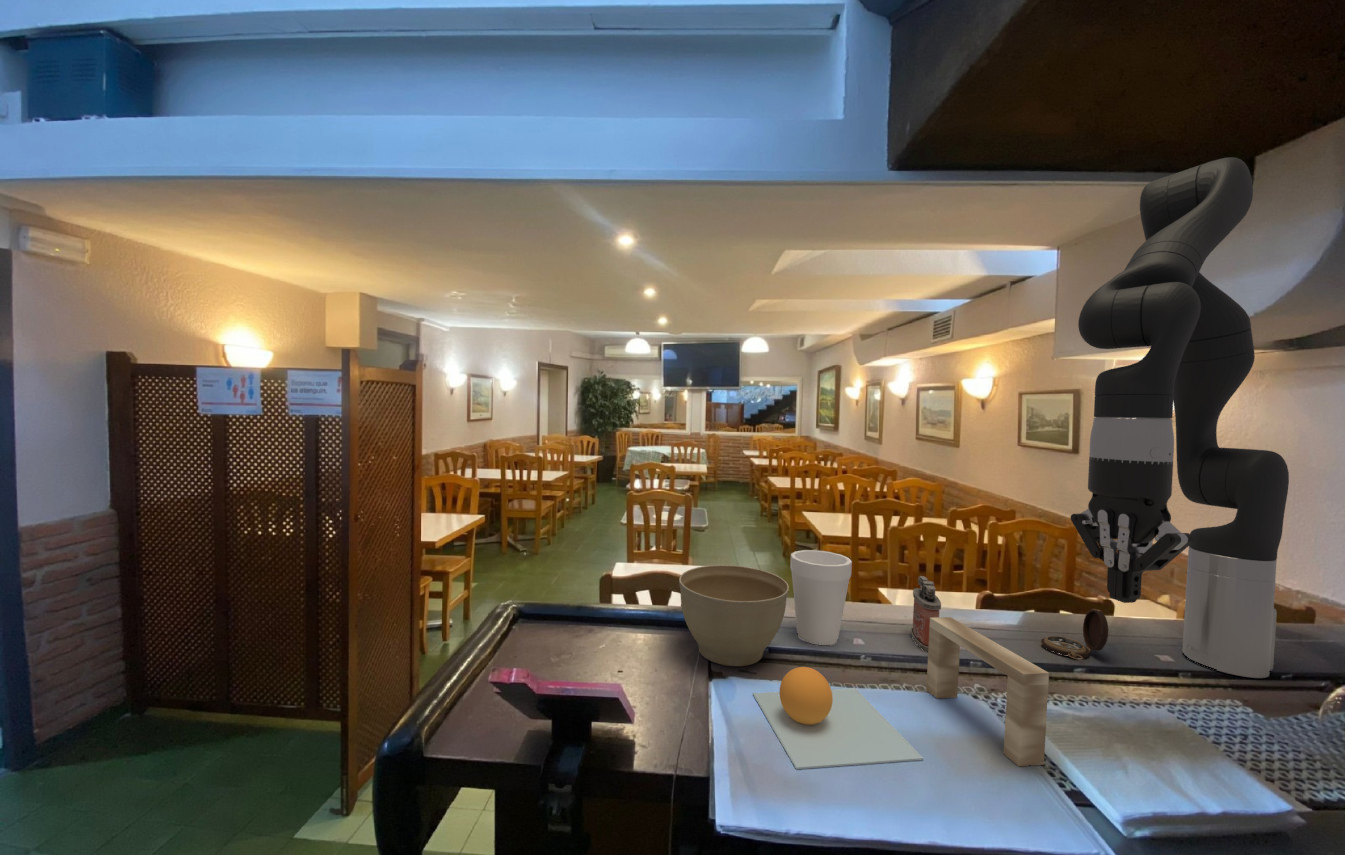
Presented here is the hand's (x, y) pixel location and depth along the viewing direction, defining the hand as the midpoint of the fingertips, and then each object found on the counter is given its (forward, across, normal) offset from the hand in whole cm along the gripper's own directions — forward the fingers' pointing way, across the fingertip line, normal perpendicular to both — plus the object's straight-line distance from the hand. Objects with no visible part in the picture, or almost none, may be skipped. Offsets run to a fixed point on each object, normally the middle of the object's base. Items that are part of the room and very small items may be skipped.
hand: (1122, 600), depth 63 cm
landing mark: (+14, +3, +35) cm, 38 cm away
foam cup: (+15, +26, +26) cm, 40 cm away
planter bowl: (+15, +22, +42) cm, 50 cm away
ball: (+11, +4, +38) cm, 40 cm away
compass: (+16, +17, -12) cm, 26 cm away
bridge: (+15, +2, +17) cm, 23 cm away
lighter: (+15, +23, +9) cm, 29 cm away
